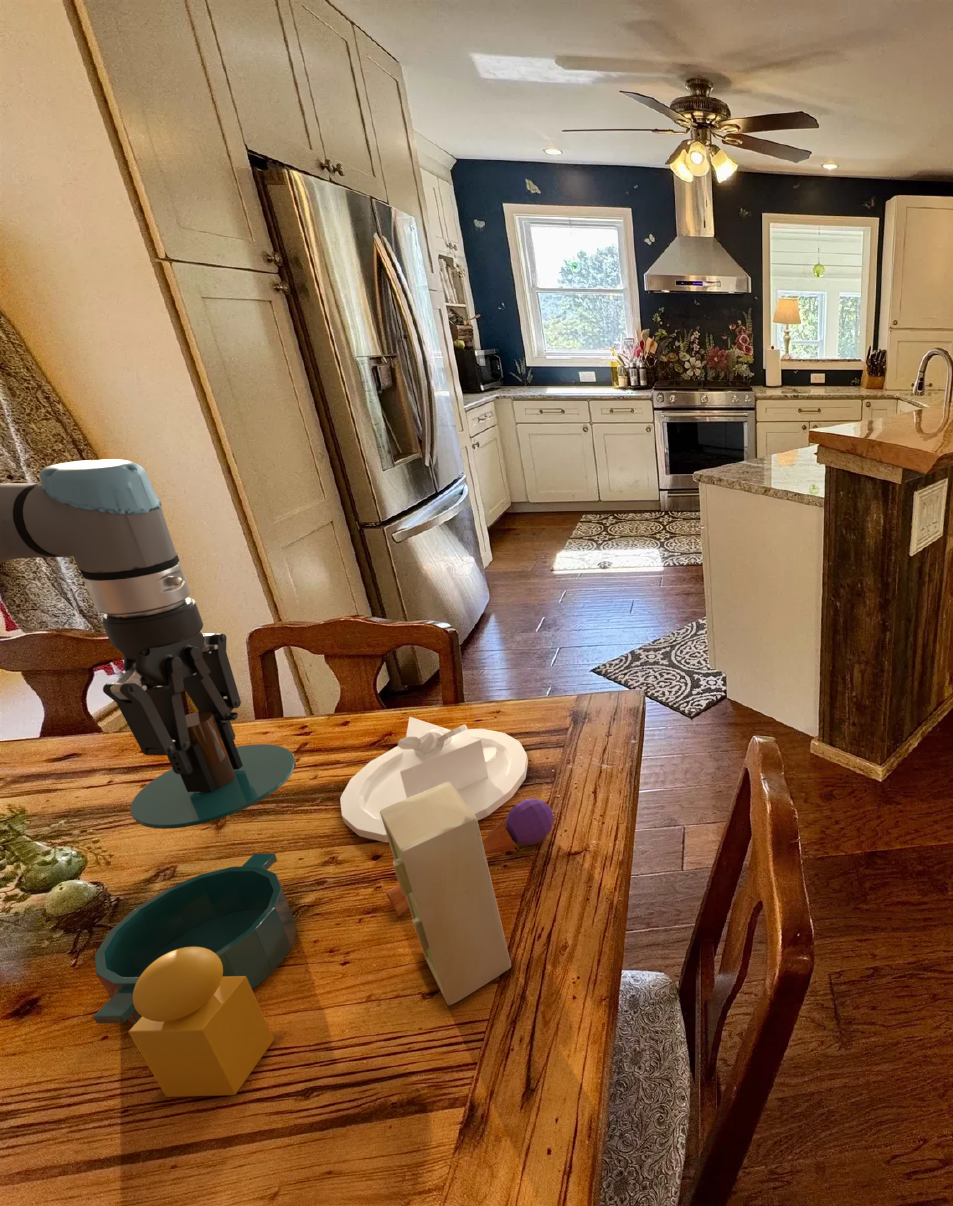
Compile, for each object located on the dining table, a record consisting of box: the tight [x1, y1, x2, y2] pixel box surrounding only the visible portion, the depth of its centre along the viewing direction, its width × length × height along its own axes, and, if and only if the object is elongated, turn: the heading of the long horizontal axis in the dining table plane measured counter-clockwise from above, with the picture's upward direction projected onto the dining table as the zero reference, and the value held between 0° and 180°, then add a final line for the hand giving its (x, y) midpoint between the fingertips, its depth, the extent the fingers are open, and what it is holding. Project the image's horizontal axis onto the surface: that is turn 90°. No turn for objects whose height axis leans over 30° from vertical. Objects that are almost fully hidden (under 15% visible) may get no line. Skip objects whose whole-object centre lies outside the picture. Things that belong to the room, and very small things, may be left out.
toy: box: [128, 947, 275, 1098], centre depth 57 cm, size 6×6×14 cm
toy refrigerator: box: [380, 782, 512, 1006], centre depth 66 cm, size 8×7×21 cm
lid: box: [129, 711, 297, 830], centre depth 78 cm, size 15×15×10 cm
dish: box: [339, 716, 529, 843], centre depth 95 cm, size 25×25×11 cm
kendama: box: [385, 798, 555, 917], centre depth 82 cm, size 6×6×20 cm
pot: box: [92, 852, 297, 1026], centre depth 68 cm, size 14×20×6 cm
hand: (215, 778), depth 79 cm, fingers closed on lid, 4 cm apart
